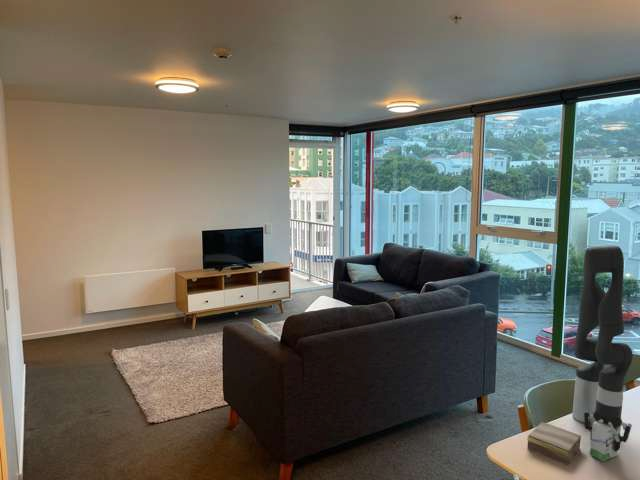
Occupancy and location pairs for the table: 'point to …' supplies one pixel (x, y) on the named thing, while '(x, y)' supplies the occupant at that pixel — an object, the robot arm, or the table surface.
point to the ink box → (603, 441)
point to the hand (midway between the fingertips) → (604, 446)
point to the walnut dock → (554, 442)
